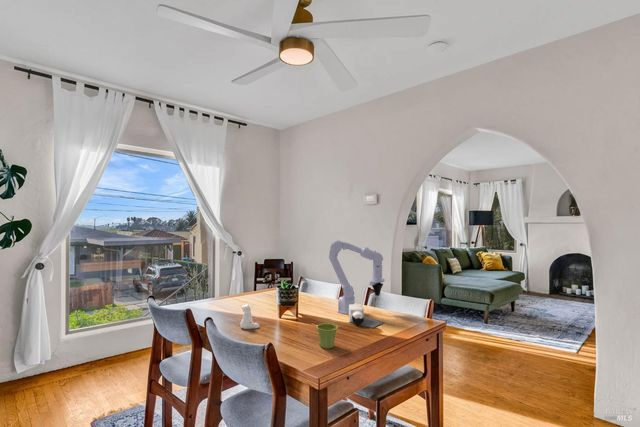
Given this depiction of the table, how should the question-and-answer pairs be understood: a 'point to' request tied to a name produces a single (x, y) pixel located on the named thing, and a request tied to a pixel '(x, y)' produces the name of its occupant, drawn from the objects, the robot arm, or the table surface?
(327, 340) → the plant pot
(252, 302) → the table surface
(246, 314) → the white creature statuette
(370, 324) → the mat
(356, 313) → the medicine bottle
